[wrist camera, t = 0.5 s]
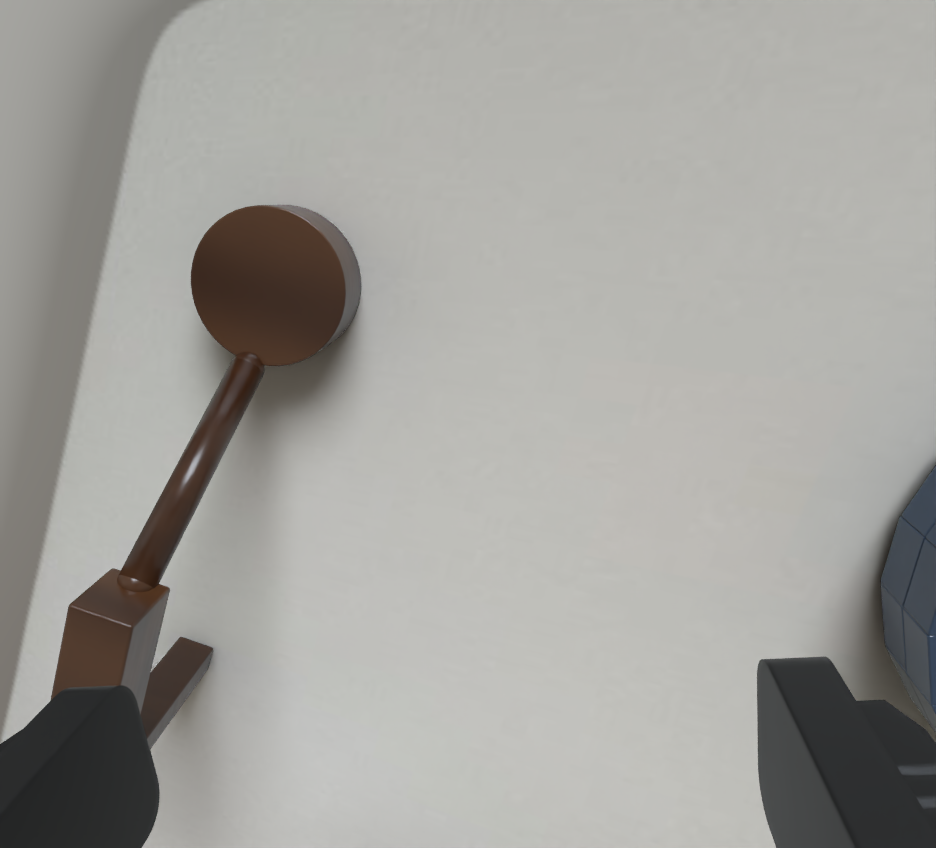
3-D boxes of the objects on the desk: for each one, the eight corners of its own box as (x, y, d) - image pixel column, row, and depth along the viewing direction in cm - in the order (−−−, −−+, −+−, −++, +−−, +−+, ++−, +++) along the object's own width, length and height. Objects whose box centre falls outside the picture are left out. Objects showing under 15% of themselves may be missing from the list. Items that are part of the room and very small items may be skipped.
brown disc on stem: (236, 184, 28) (74, 175, 19) (378, 233, 28) (292, 251, 19) (133, 643, 34) (-30, 817, 25) (250, 683, 34) (134, 874, 25)
